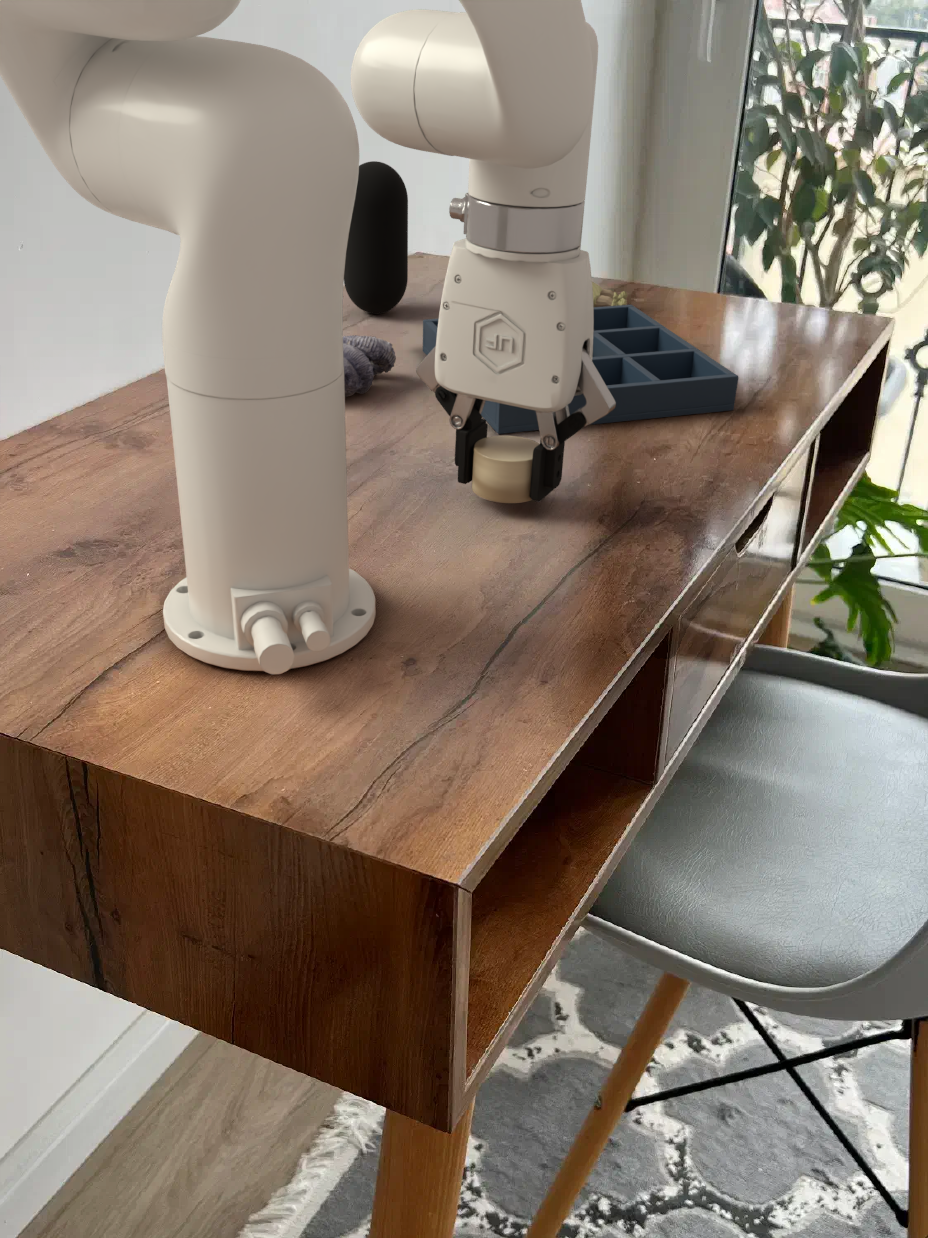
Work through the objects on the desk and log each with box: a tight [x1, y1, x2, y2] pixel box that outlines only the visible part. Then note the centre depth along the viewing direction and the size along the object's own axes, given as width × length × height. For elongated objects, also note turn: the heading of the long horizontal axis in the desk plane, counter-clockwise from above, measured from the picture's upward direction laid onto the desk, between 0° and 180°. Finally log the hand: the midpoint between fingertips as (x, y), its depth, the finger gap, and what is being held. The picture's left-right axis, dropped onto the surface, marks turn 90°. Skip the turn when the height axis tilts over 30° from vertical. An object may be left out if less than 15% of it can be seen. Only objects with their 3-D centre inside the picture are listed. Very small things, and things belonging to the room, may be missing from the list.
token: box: [471, 435, 540, 504], centre depth 88 cm, size 5×5×3 cm
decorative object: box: [344, 160, 409, 315], centre depth 125 cm, size 7×7×15 cm
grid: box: [422, 304, 739, 435], centre depth 112 cm, size 22×22×3 cm
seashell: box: [343, 334, 397, 398], centre depth 107 cm, size 5×5×10 cm
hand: (506, 483), depth 89 cm, fingers closed on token, 5 cm apart
